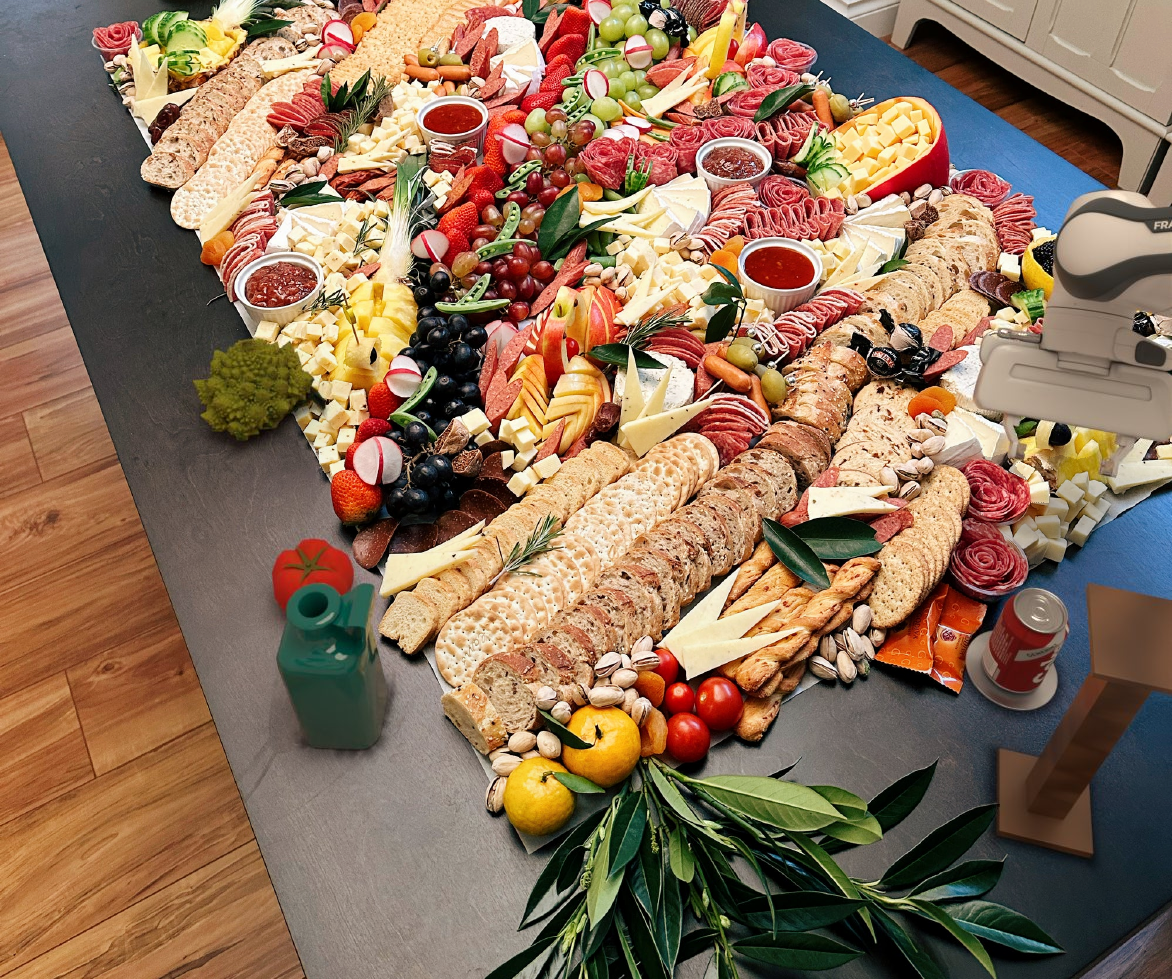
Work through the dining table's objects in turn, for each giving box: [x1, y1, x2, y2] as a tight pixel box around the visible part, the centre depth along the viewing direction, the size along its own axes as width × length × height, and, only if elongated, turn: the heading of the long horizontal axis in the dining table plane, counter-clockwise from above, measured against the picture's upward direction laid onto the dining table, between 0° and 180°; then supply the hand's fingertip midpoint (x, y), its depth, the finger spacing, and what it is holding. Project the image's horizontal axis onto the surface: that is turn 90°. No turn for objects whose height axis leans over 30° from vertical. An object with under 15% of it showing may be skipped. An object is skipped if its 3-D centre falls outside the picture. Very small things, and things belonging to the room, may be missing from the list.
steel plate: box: [964, 630, 1059, 712], centre depth 127 cm, size 10×10×1 cm
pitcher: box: [275, 582, 389, 750], centre depth 116 cm, size 10×8×22 cm
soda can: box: [982, 587, 1070, 693], centre depth 122 cm, size 7×7×12 cm
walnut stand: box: [996, 582, 1172, 859], centre depth 105 cm, size 9×9×32 cm
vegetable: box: [192, 337, 328, 442], centre depth 153 cm, size 15×16×15 cm
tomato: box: [271, 537, 355, 614], centre depth 132 cm, size 9×9×8 cm
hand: (1060, 467), depth 120 cm, fingers open, 8 cm apart
